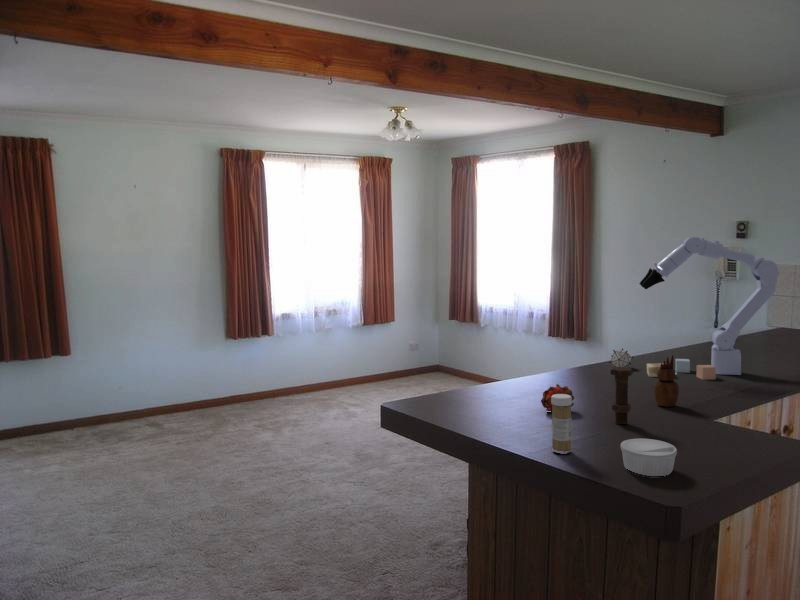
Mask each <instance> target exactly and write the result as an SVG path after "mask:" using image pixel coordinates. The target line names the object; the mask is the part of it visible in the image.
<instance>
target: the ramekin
mask: <svg viewBox="0 0 800 600" xmlns="http://www.w3.org/2000/svg"><path fill="white" fill-rule="evenodd" d="M620 450H621V453H622V454H621V455H622V460H623V466H624V468H625V469H626V470H627V469H628V470H630V471H632V472H635V473H638V474H642V475H647V476H664V477H667V476H669V475H670V474H671V473H672V472H673V470H674V466H675V461H676V460H675V459H676V456H677V454H678V449H677V448H676V447H675V445H673V444H671V443H669V442H667V441H666V442H665V441H663V440H659V439H651V438H641V437H640V438H630V439H625V440H623V441H622V442H621V443H620ZM628 470H627V471H628ZM666 475H667V476H666Z"/></svg>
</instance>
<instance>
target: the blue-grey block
mask: <svg viewBox="0 0 800 600" xmlns="http://www.w3.org/2000/svg"><path fill="white" fill-rule="evenodd" d="M674 371H675V372H676V373H687V374H688V373H691V361H690V359H689V358H675V369H674Z"/></svg>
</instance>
